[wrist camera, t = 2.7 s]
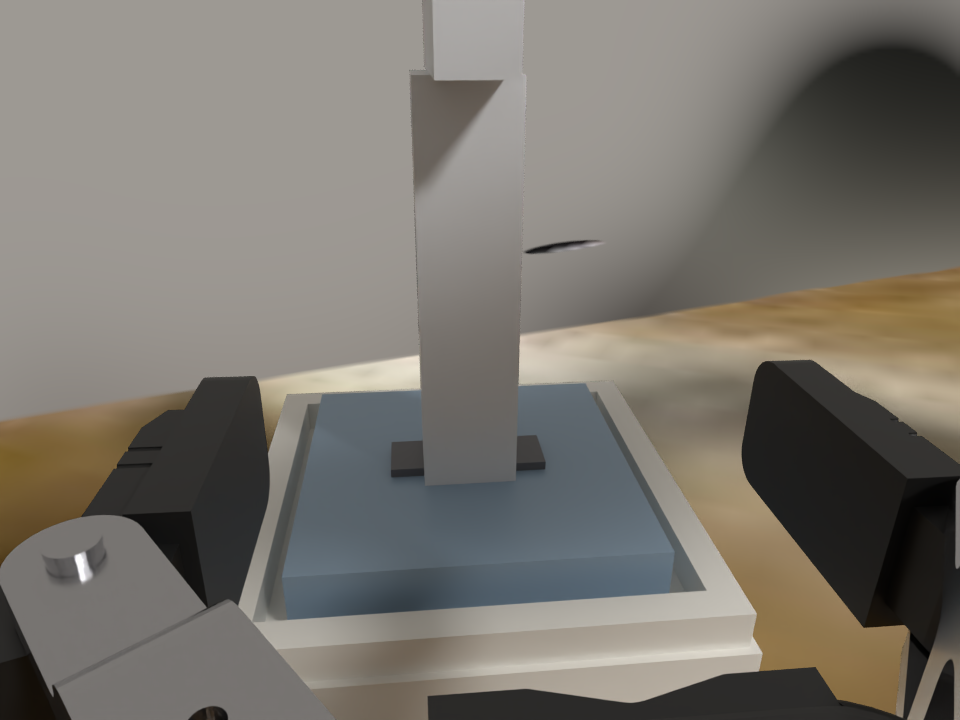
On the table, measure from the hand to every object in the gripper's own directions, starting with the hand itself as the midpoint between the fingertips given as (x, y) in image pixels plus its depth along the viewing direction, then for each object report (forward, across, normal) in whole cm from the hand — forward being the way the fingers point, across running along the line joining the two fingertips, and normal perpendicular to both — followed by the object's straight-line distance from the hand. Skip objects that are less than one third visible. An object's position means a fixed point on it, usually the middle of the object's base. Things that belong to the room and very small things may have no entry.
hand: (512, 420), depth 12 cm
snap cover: (+11, 0, +10) cm, 15 cm away
